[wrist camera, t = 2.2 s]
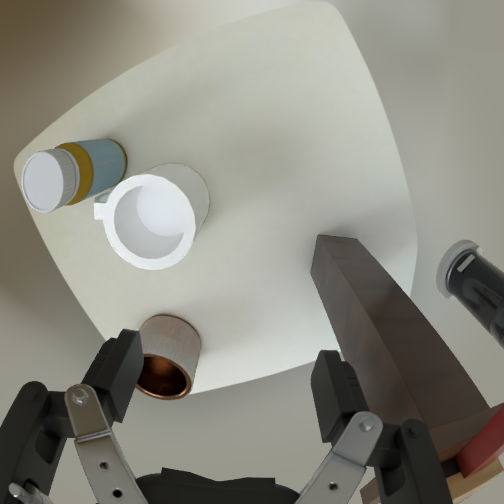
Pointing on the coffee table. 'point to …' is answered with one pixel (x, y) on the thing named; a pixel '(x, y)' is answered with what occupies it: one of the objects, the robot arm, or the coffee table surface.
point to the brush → (476, 460)
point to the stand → (395, 351)
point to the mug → (154, 215)
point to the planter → (168, 358)
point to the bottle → (71, 173)
